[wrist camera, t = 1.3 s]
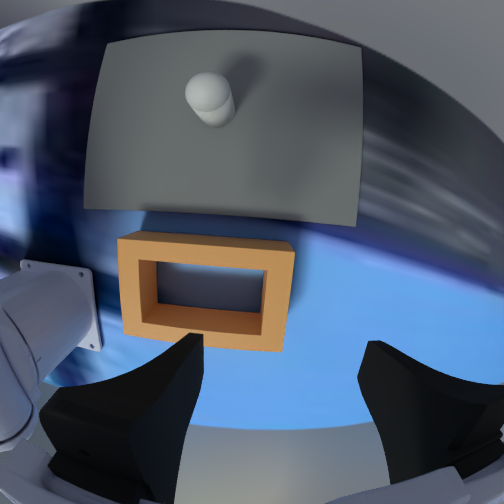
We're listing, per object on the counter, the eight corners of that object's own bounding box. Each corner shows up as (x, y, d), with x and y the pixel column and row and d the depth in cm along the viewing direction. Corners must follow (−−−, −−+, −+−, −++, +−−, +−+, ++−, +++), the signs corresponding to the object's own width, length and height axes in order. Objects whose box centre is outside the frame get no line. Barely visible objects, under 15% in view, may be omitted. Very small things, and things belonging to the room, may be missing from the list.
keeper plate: (90, 207, 19) (40, 216, 13) (112, 48, 16) (76, 17, 10) (350, 224, 19) (388, 240, 13) (356, 52, 16) (387, 15, 10)
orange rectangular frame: (141, 314, 21) (124, 334, 17) (138, 230, 19) (117, 238, 16) (278, 327, 21) (282, 352, 18) (288, 241, 20) (295, 252, 16)
